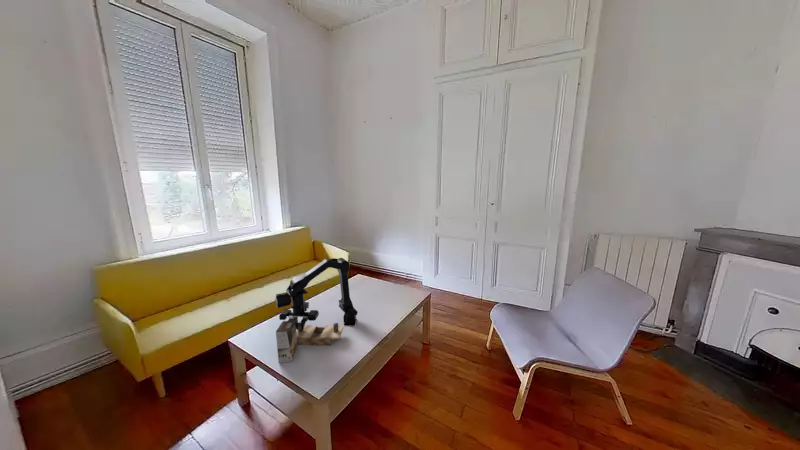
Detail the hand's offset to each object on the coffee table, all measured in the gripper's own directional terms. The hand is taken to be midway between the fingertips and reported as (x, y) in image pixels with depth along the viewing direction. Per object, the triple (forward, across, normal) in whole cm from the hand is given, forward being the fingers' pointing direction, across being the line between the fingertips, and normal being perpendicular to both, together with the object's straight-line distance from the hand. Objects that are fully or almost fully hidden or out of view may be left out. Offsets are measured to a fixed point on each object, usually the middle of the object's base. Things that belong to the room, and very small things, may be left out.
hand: (300, 329), depth 139 cm
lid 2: (+1, -17, 0) cm, 17 cm away
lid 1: (+1, -2, 0) cm, 2 cm away
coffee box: (+6, +1, +13) cm, 14 cm away
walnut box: (+6, -7, 0) cm, 9 cm away
